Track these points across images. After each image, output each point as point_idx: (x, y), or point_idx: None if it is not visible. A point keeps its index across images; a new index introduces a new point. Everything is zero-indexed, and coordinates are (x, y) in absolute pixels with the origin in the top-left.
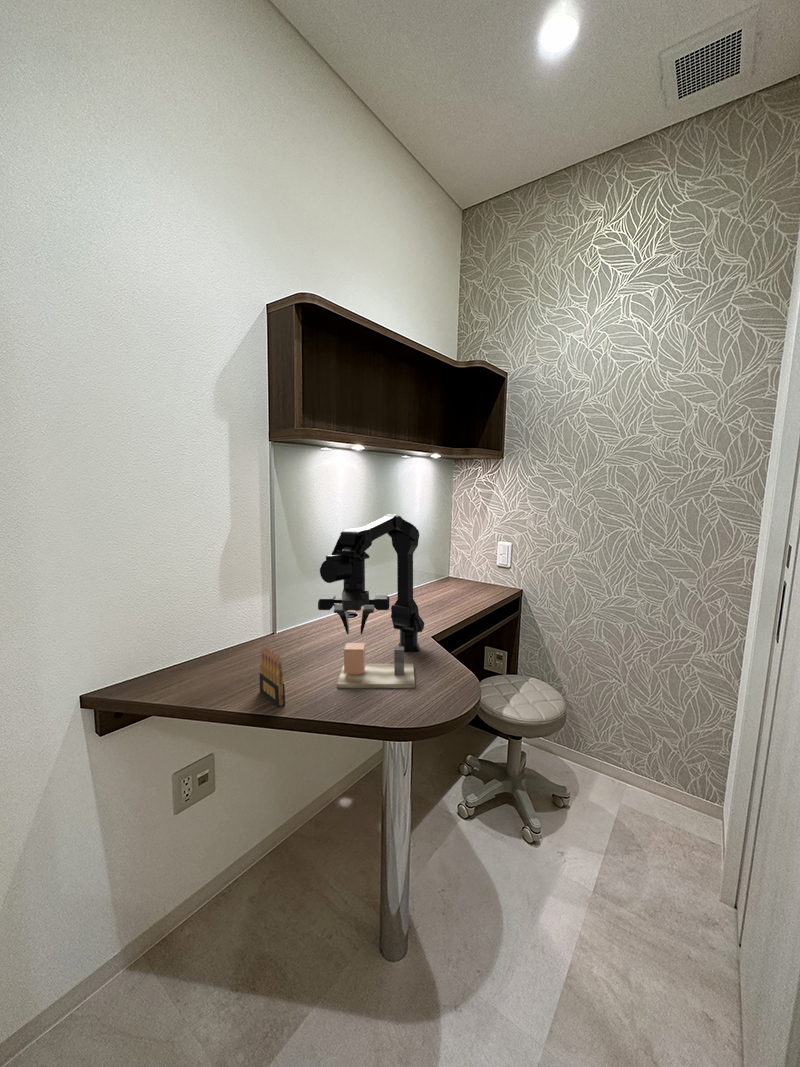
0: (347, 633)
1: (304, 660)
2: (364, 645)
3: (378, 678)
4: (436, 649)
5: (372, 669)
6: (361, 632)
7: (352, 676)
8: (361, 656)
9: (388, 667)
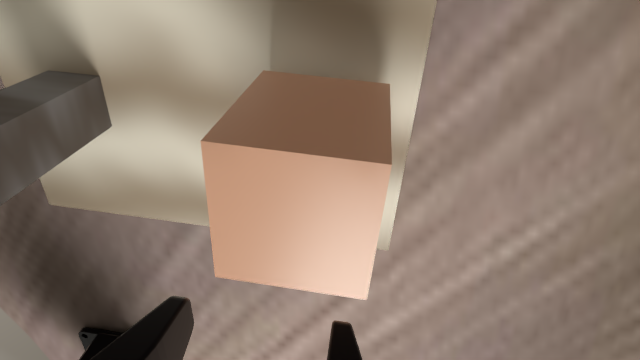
0: (343, 326)
1: (578, 330)
2: (210, 230)
3: (178, 35)
4: (25, 329)
5: None
6: (168, 310)
7: None
8: (241, 115)
9: (154, 177)
